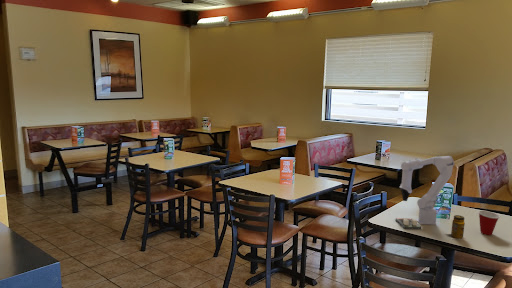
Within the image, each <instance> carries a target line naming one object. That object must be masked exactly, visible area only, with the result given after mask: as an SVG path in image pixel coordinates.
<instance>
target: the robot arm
mask: <svg viewBox="0 0 512 288" xmlns="http://www.w3.org/2000/svg"><path fill="white" fill-rule="evenodd" d="M431 164H432V165H433V166H435V167H436V169H437V170H438V172H439V175H438V177H437V178H436V180H435V181H434V182H433V183H432V186H430V188H429V190H428V191H427V192H426V193H425V194H424V195H422V197H420V198H419V199H418V200H417V202H416V204H417V207H418V218H415V219H416V220H417V223H418V224H419V225H437V215H438V214H437V209H435V208H434V207H435V205H436V202H437V200H438V198H437V196H438V195H439V194H440V192H441V191H442V190H443V188H444V187H445V185H446V184H447V183H448V181H449V180H450V178H451V177H452V174H453V169H454V166H455V160H454V158H453V157H452V156H451V155H445V156H444V155H442V156H432V157H429V158H425V159H422V158H418V157H417V158H414V159H412V160H411V159H409V160H408V161H403V162H402V163H401V165H400V168H401V170H402V172H401V173H402V175H401V176H402V177H401V183H400V184H399V185H400V186H399V187H398V188H400V193H401V196H402V201H403V202H408V199H409V196H410V195H411V194H412V193H413V189H412V179H413V178H412V177H413V171H414V170H418V169H422V168H423V167H424V166H426V165H431Z"/></svg>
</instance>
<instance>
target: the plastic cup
mask: <svg viewBox="0 0 512 288" xmlns="http://www.w3.org/2000/svg"><path fill="white" fill-rule="evenodd" d="M500 218H501V216H500V214H497V213H496V212H492V211H488V210H478V219H479V229H480V230H479V231H480V234H482V235H485V236H492V235H493V233H494V230H495V229H496V228H495V227H496V226H497V222H498V220H499V219H500Z"/></svg>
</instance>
